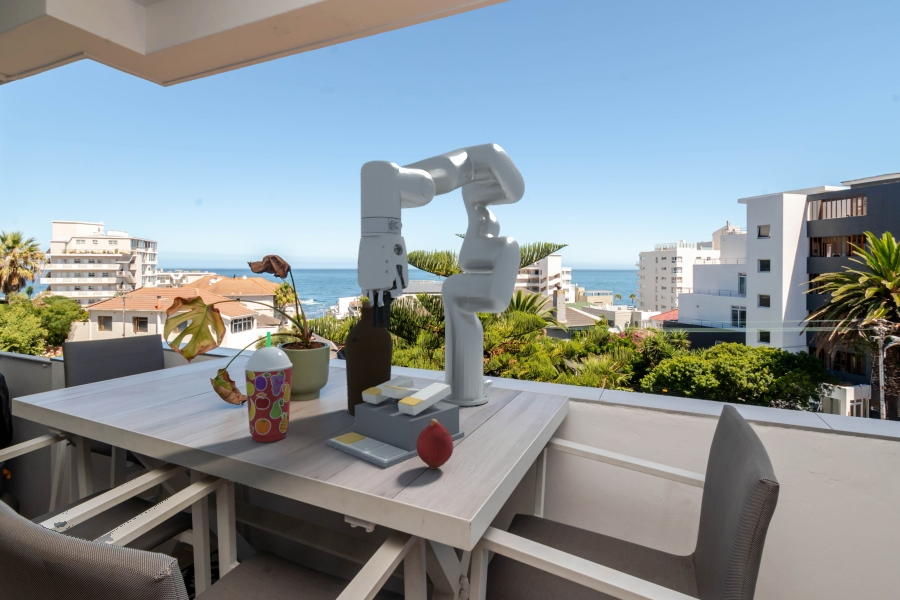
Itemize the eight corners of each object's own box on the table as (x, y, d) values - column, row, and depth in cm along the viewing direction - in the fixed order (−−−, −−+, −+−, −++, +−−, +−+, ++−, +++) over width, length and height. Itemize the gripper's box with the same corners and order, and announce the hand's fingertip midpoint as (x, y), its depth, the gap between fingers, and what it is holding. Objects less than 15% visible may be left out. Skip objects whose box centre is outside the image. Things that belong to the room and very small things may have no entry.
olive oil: (389, 417, 99) (390, 302, 98) (340, 417, 99) (340, 302, 98) (394, 404, 110) (394, 300, 109) (349, 404, 110) (349, 300, 109)
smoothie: (278, 427, 92) (277, 328, 91) (301, 436, 87) (301, 331, 86) (236, 438, 86) (235, 332, 85) (259, 449, 80) (258, 335, 80)
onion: (442, 459, 76) (443, 411, 76) (459, 472, 71) (460, 421, 71) (410, 465, 74) (410, 416, 73) (426, 479, 69) (426, 426, 68)
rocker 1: (401, 387, 95) (399, 374, 95) (414, 390, 93) (412, 377, 92) (363, 405, 88) (361, 391, 87) (376, 409, 85) (374, 395, 85)
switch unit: (406, 419, 98) (406, 385, 98) (464, 436, 88) (464, 398, 87) (326, 444, 83) (326, 403, 83) (385, 468, 73) (385, 422, 72)
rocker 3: (436, 394, 89) (435, 381, 88) (451, 398, 86) (450, 384, 86) (400, 416, 81) (397, 401, 81) (415, 420, 79) (412, 405, 78)
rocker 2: (417, 401, 92) (419, 387, 92) (431, 404, 89) (433, 390, 90) (380, 400, 84) (382, 385, 85) (394, 404, 82) (396, 388, 82)
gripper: (423, 228, 84) (423, 328, 85) (371, 233, 94) (372, 323, 95) (392, 225, 78) (392, 332, 79) (340, 230, 88) (341, 325, 89)
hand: (381, 326), depth 87 cm, fingers closed
